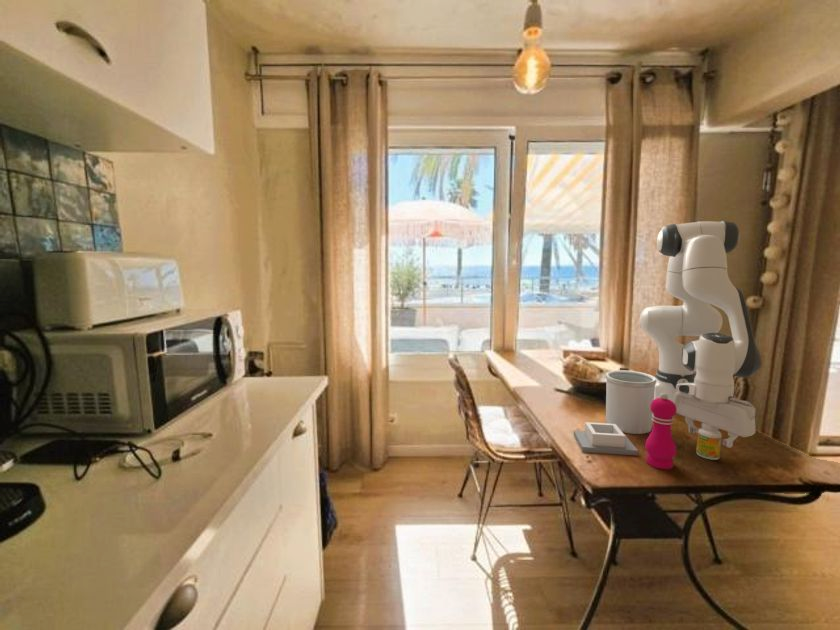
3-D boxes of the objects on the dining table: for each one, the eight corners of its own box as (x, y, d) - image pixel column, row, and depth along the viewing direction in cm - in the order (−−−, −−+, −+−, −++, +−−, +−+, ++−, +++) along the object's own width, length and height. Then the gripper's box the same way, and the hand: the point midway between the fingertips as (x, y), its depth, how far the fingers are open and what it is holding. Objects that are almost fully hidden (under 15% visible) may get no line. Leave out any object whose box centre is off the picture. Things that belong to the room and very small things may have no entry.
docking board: (573, 434, 125) (574, 419, 125) (623, 437, 123) (624, 422, 122) (582, 451, 114) (582, 435, 113) (637, 455, 111) (638, 438, 111)
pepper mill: (663, 457, 110) (668, 388, 108) (681, 470, 103) (686, 397, 101) (638, 457, 110) (642, 389, 108) (654, 470, 103) (659, 397, 100)
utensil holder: (626, 437, 123) (629, 384, 121) (594, 420, 137) (596, 371, 135) (664, 432, 127) (667, 379, 125) (628, 415, 141) (631, 368, 139)
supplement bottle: (694, 455, 111) (696, 423, 110) (698, 449, 114) (700, 417, 113) (717, 462, 107) (720, 428, 106) (721, 455, 111) (723, 422, 109)
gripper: (763, 402, 100) (759, 453, 101) (685, 381, 119) (682, 425, 120) (747, 405, 97) (743, 457, 99) (670, 383, 117) (667, 427, 118)
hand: (709, 439), depth 110 cm, fingers open, 8 cm apart
